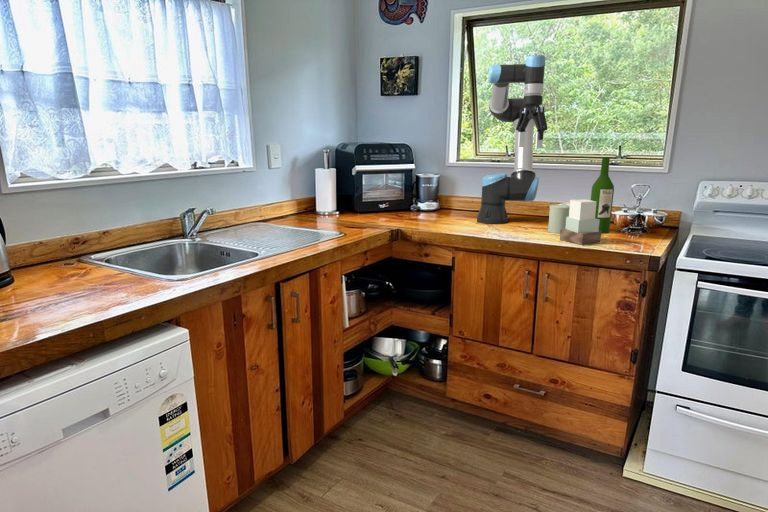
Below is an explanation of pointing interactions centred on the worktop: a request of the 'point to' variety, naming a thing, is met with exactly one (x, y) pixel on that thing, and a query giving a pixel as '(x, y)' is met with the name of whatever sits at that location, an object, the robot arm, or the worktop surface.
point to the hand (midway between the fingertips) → (529, 147)
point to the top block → (582, 225)
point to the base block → (580, 237)
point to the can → (557, 218)
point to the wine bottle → (603, 197)
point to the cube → (582, 209)
